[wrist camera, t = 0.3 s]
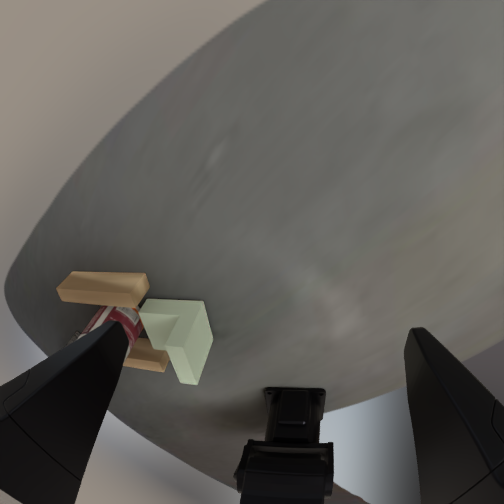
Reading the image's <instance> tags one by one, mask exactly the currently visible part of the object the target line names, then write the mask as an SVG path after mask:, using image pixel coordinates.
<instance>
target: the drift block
mask: <svg viewBox="0 0 504 504" xmlns="http://www.w3.org/2000/svg"><path fill="white" fill-rule="evenodd" d="M138 313H139V316H140V318H141V320H142V323H143V325H144V328H145V330H146V332H147V335H148V337H149V339H150V342H151V344H152V346H153V349H157V350H165V351H167V353H168V355H169V357H170V360H171V362H172V365H173V367H174V369H175V371H176V374H177V376H178V378H179V380H180V383H185V384H193V385H197V384H198V382H199V379H200V376H201V373H202V370H203V367H204V364H205V362H206V359H207V356H208V353H209V350H210V347H211V344H212V342H213V336H212V332H211V328H210V325H209V321H208V317H207V313H206V309H205V305H204V301H190V300H167V299H147V300H146V301H145V303H144V304H143V306H142V307H141V309H140V311H139V312H138Z"/></svg>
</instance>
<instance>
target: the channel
mask: <svg viewBox="0 0 504 504" xmlns="http://www.w3.org/2000/svg"><path fill="white" fill-rule="evenodd" d="M149 288H150V286H149V283H148V280H147V277H146V274H145V273H121V272H78V271H72V272H71V273H70V275H69V276H68V277H67V278H66V279H65V280H64V281H63V282H62V283H61V284H60V285H59V286H58V287H57V288H56V289H57V291H58V294H59V296H60V298H61V300H62V301H66V302H75V303H85V304H95V305H105V306H116V307H129V308H136V307H137V305H138V304H139V302H140V301H141V299H142V298H143V296H144V295H145V294H146V292H147V291H148V289H149ZM169 360H170V357H169V355H168V353H167V351H165V350H157V349H153V346H152V344H151V342H150V339H146V338H138V339H137V340H136V342H135V344H134V346H133V348H132V349H131V351H130V353H129V355H128V356H127V358H126V360H125V362H124V364H123V366H128V367H133V368H139V369H145V370H152V371H158V372H164V371H165V368H166V366H167V364H168V362H169Z"/></svg>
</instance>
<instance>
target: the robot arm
mask: <svg viewBox="0 0 504 504" xmlns="http://www.w3.org/2000/svg"><path fill="white" fill-rule="evenodd" d="M128 347H129V339H128V336H127V334H126V332H125V330H124V327H123V325H122V323H121V322H120V321H115V320H109V321H107V322H105V323H103V324H102V325H100V326H99V327H97V328H95V329H94V330H92V331H90V332H89V333H87V334H85V335H84V336H82V337H81V338H79V339H77V340H76V341H74V342H72V343H71V344H69V345H68V346H66V347H64V348H63V349H61V350H59V351H58V352H56V353H55V354H53V355H51V356H50V357H48V358H47V359H45V360H43V361H42V362H40V363H39V364H37V365H35V366H34V367H32V368H31V369H29V370H28V371H26V372H24V373H22V374H21V375H19V376H17V377H16V378H14V379H13V380H11V381H9V382H7V383H5V384H3V385H2V386H0V504H75V501H76V498H77V494H78V491H79V488H80V485H81V481H82V478H83V475H84V472H85V469H86V466H87V463H88V460H89V458H90V455H91V452H92V449H93V446H94V443H95V441H96V438H97V435H98V432H99V430H100V427H101V424H102V422H103V419H104V416H105V414H106V411H107V409H108V406H109V403H110V401H111V398H112V396H113V393H114V391H115V388H116V386H117V383H118V380H119V377H120V373H121V370H122V367H123V363H124V360H125V356H126V353H127V350H128ZM404 360H405V371H406V382H407V395H408V404H409V410H410V416H411V422H412V428H413V434H414V441H415V448H416V455H417V464H418V472H419V482H420V495H421V504H504V406H503V405H502V404H501V403H500V402H499V401H498V400H497V399H495V397H494V396H493V395H492V394H491V393H490V391H489V390H488V389H486V387H485V386H484V385H483V384H482V383H481V382H480V381H479V380H478V379H477V378H476V377H475V376H474V375H473V374H472V373H471V372H470V371H469V370H468V369H467V368H466V367H465V366H464V365H463V364H462V363H461V362H460V361H459V360H458V359H457V358H456V357H455V356H454V355H453V354H452V353H450V352H449V351H448V350H447V349H446V348H445V347H444V346H443V345H442V344H441V343H440V342H439V341H438V340H437V339H436V338H435V337H434V336H433V335H432V334H431V333H430V332H428V331H427V330H426V329H425V328H423V327H417V328H411V329H410V331H409V334H408V337H407V341H406V344H405V348H404ZM265 397H266V404H267V410H268V423H267V429H266V435H265V441H255V440H253V439H249V440H248V443H247V445H245V446H244V450H243V455H242V458H241V461H240V463H239V465H238V467H237V469H236V471H235V473H234V476H233V478H234V480H235V481H236V482H237V490H238V493H241V499H240V504H324V498H331V494H332V488H333V476H334V456H333V442H328V443H319V435H320V421H321V420H322V419H323V413H324V405H325V397H326V390H324V389H289V388H266V390H265Z"/></svg>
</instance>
